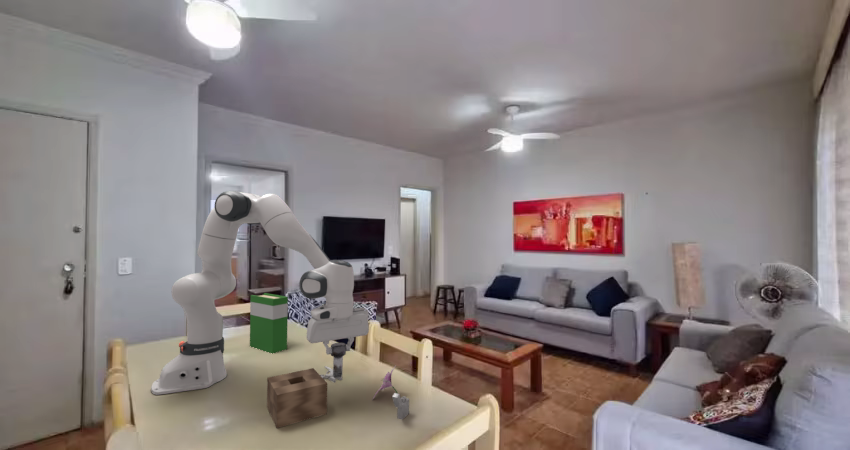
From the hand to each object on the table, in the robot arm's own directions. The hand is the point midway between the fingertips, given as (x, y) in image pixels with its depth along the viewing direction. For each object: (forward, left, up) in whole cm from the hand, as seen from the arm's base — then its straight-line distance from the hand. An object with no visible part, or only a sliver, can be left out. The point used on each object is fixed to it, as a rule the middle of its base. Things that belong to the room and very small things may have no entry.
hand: (338, 352), depth 116 cm
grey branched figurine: (+2, +19, -15) cm, 24 cm away
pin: (0, 0, -8) cm, 8 cm away
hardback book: (-10, +65, -15) cm, 67 cm away
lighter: (+10, -23, -15) cm, 29 cm away
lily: (+14, -8, -15) cm, 22 cm away
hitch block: (-14, -2, -14) cm, 20 cm away
